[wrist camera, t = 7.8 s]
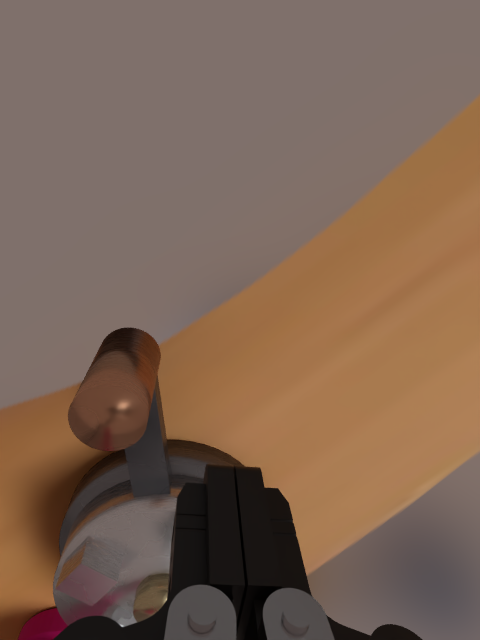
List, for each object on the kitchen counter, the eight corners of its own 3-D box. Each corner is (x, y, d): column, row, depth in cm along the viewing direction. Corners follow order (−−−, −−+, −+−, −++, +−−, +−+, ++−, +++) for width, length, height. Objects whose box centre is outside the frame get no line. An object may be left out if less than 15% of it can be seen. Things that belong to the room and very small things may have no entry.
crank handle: (266, 605, 28) (281, 718, 22) (87, 625, 27) (58, 745, 22) (252, 309, 20) (269, 371, 15) (3, 328, 19) (-74, 400, 14)
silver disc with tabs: (176, 613, 30) (174, 643, 29) (27, 527, 27) (14, 556, 25) (306, 513, 28) (313, 539, 26) (162, 402, 24) (158, 424, 22)
